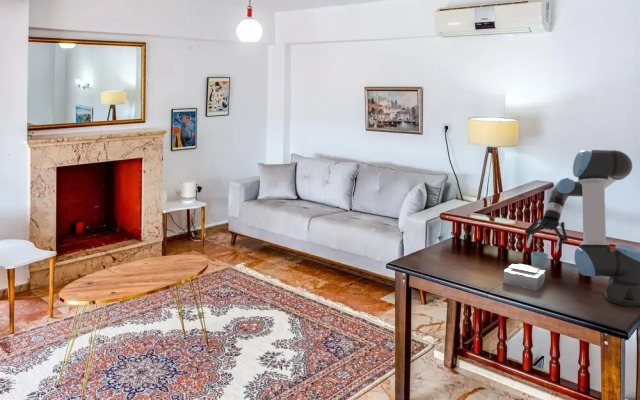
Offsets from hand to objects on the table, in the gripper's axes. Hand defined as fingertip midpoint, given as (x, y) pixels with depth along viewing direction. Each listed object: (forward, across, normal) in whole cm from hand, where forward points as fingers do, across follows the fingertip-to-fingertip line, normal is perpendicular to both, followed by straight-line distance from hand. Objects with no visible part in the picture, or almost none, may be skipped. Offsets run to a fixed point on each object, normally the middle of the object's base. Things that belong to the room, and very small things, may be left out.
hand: (541, 248), depth 274 cm
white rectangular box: (+25, 0, +10) cm, 27 cm away
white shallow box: (+23, 0, +10) cm, 25 cm away
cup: (+15, -2, 0) cm, 15 cm away
